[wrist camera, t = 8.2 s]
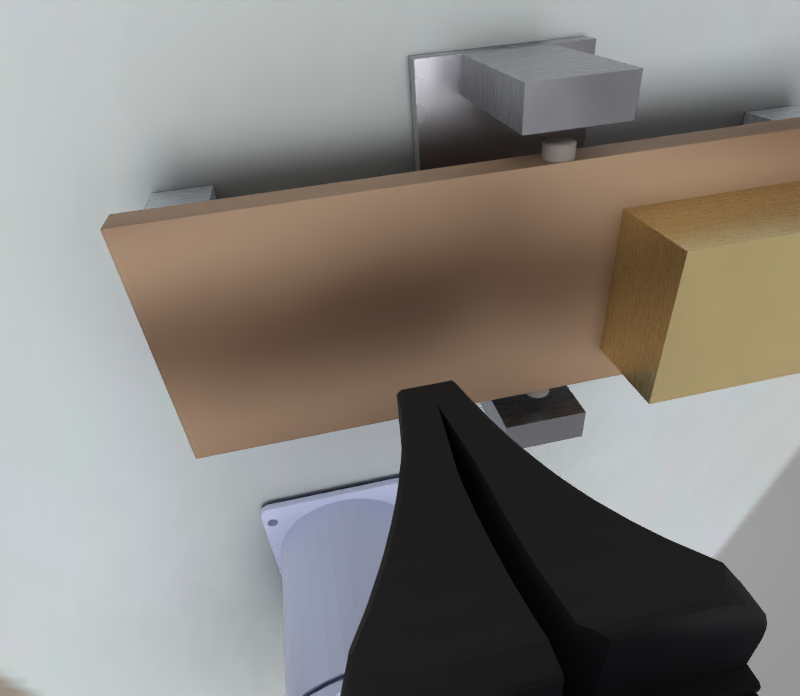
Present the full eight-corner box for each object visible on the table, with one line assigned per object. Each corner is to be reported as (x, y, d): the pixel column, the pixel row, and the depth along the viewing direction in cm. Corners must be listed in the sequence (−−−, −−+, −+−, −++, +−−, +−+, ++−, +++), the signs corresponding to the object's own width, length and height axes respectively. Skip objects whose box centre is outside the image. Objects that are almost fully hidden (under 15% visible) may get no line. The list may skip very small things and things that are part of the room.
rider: (755, 318, 20) (825, 367, 17) (599, 348, 19) (649, 404, 16) (806, 179, 17) (897, 215, 14) (623, 208, 16) (687, 251, 14)
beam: (815, 325, 22) (910, 387, 19) (202, 445, 19) (190, 543, 16) (919, 86, 17) (1075, 115, 14) (103, 199, 14) (56, 270, 11)
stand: (727, 308, 27) (830, 384, 22) (223, 400, 24) (213, 512, 19) (823, 8, 19) (1009, 23, 15) (116, 89, 16) (55, 141, 12)
